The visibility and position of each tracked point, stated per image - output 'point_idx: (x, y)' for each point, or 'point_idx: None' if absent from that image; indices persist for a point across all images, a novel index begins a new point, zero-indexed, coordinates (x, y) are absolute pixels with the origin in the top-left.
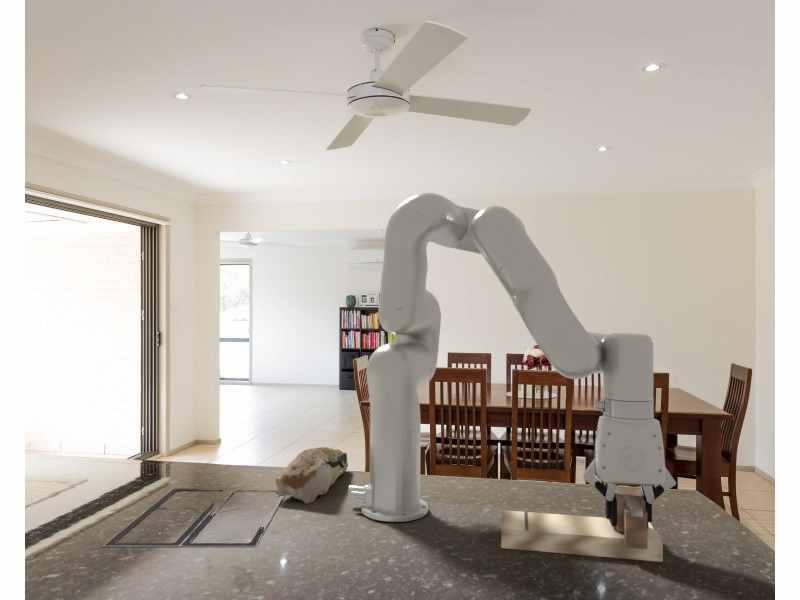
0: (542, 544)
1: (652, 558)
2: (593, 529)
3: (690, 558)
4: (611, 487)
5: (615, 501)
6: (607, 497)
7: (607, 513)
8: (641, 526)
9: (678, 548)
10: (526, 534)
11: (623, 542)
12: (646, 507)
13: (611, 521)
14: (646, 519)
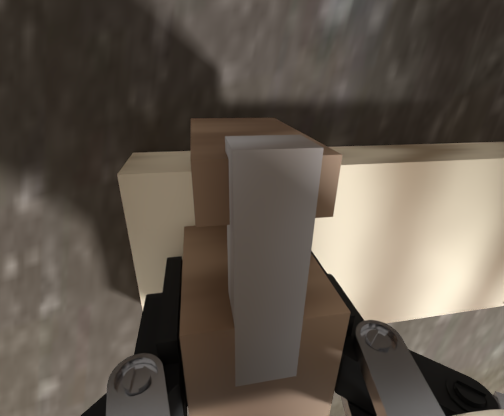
0: (499, 146)
1: (167, 154)
2: (362, 228)
3: (32, 209)
4: (407, 397)
5: None
6: (383, 338)
7: (337, 284)
8: (224, 135)
9: (71, 276)
10: None
11: None
12: (169, 325)
13: None
14: (196, 145)
